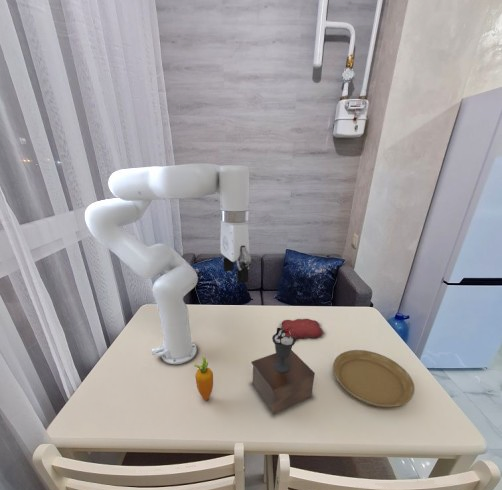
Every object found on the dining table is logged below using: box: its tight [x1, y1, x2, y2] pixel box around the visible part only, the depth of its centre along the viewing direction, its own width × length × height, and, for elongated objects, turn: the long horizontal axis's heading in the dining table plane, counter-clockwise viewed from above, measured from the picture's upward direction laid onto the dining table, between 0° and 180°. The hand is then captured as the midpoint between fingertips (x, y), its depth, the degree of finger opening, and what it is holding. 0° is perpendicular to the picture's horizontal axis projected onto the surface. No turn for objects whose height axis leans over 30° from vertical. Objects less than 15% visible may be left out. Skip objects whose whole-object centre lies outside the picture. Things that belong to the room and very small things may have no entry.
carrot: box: [193, 357, 214, 402], centre depth 75 cm, size 5×5×15 cm
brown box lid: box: [250, 349, 316, 392], centre depth 78 cm, size 14×13×1 cm
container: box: [252, 365, 316, 415], centre depth 80 cm, size 14×13×9 cm
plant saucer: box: [332, 349, 416, 409], centre depth 85 cm, size 24×24×3 cm
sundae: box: [271, 327, 297, 372], centre depth 75 cm, size 7×7×15 cm
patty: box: [280, 318, 324, 340], centre depth 112 cm, size 18×14×2 cm
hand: (235, 276), depth 77 cm, fingers open, 9 cm apart
